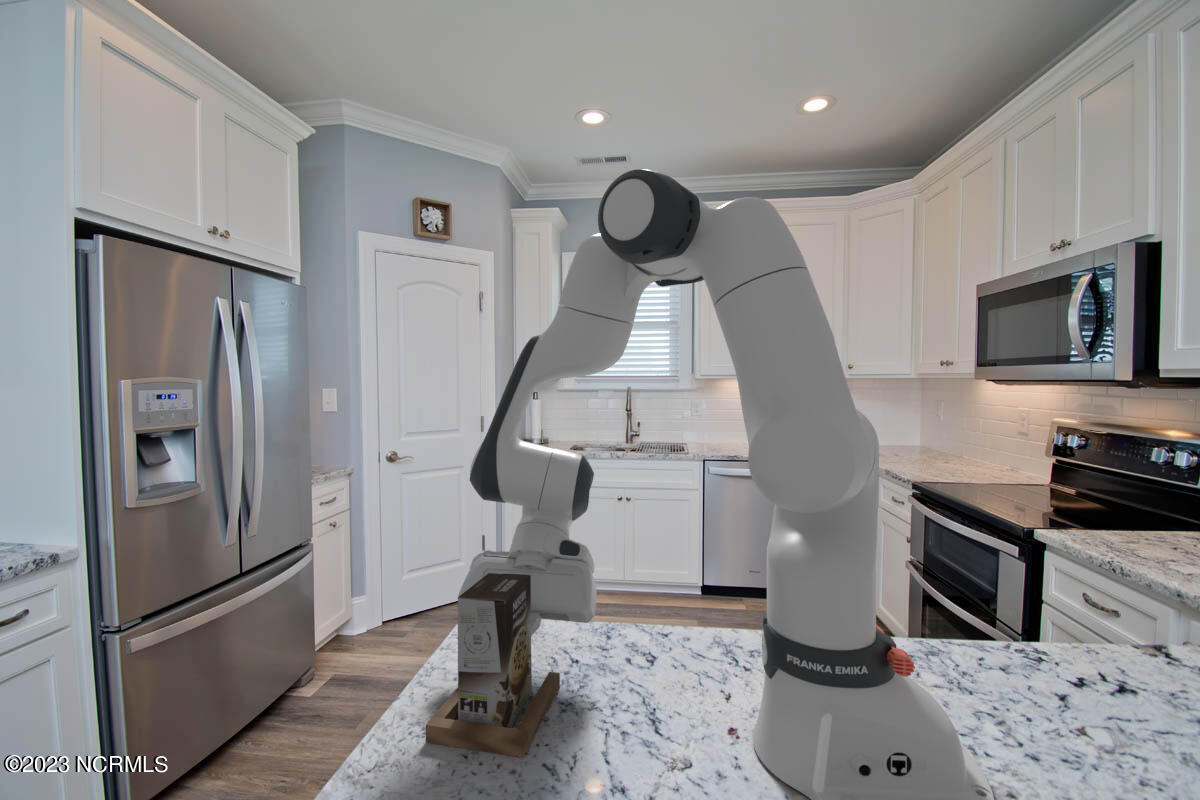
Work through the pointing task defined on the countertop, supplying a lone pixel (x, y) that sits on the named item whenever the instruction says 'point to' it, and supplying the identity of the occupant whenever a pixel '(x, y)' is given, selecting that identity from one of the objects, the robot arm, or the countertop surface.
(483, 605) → the coffee box
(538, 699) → the walnut bay
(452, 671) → the countertop surface
